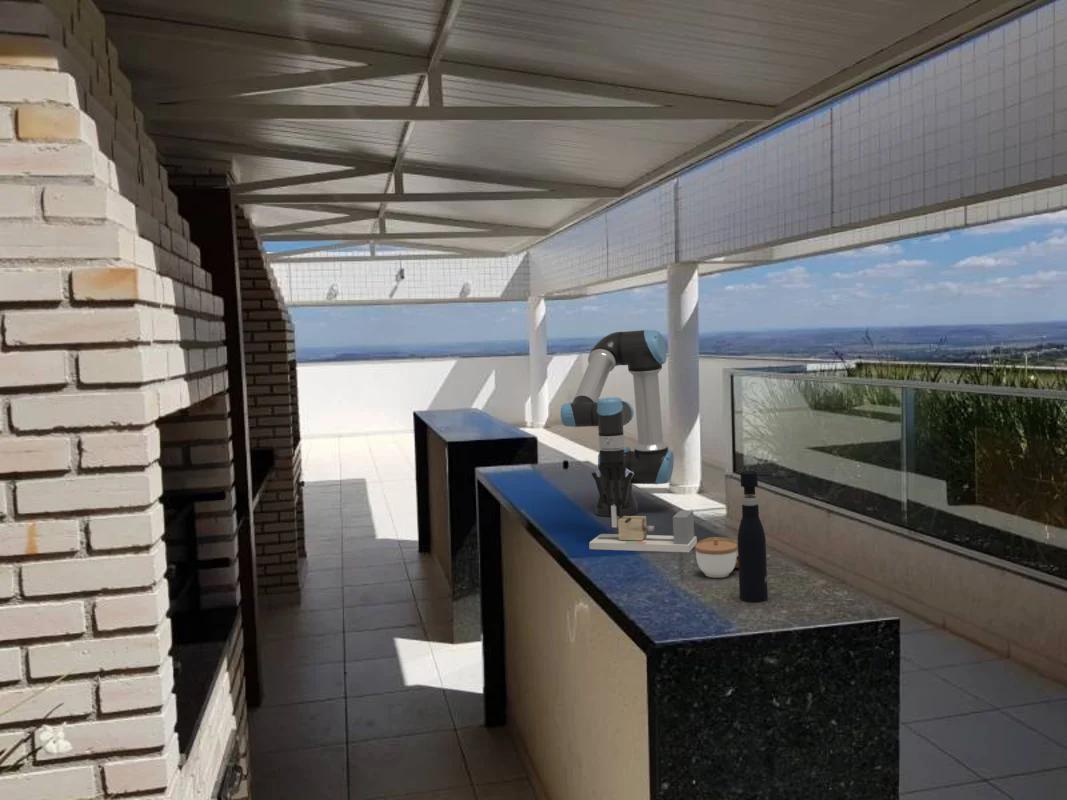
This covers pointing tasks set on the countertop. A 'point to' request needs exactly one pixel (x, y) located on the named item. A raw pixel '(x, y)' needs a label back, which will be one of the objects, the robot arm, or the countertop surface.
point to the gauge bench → (654, 538)
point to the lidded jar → (716, 557)
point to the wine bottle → (751, 545)
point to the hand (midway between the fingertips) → (615, 526)
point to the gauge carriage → (633, 528)
